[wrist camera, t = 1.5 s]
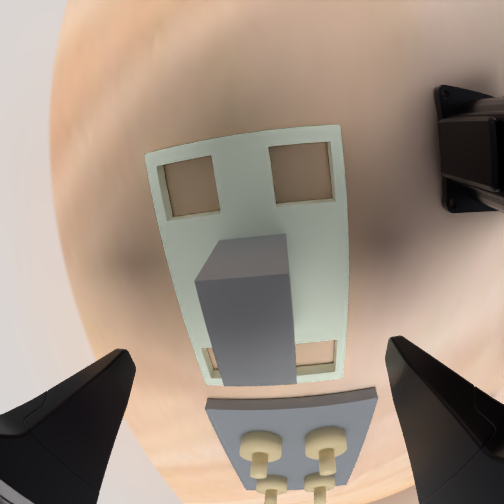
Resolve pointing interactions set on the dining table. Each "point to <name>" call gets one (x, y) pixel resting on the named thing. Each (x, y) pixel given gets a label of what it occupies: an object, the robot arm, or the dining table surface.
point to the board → (262, 217)
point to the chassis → (293, 440)
